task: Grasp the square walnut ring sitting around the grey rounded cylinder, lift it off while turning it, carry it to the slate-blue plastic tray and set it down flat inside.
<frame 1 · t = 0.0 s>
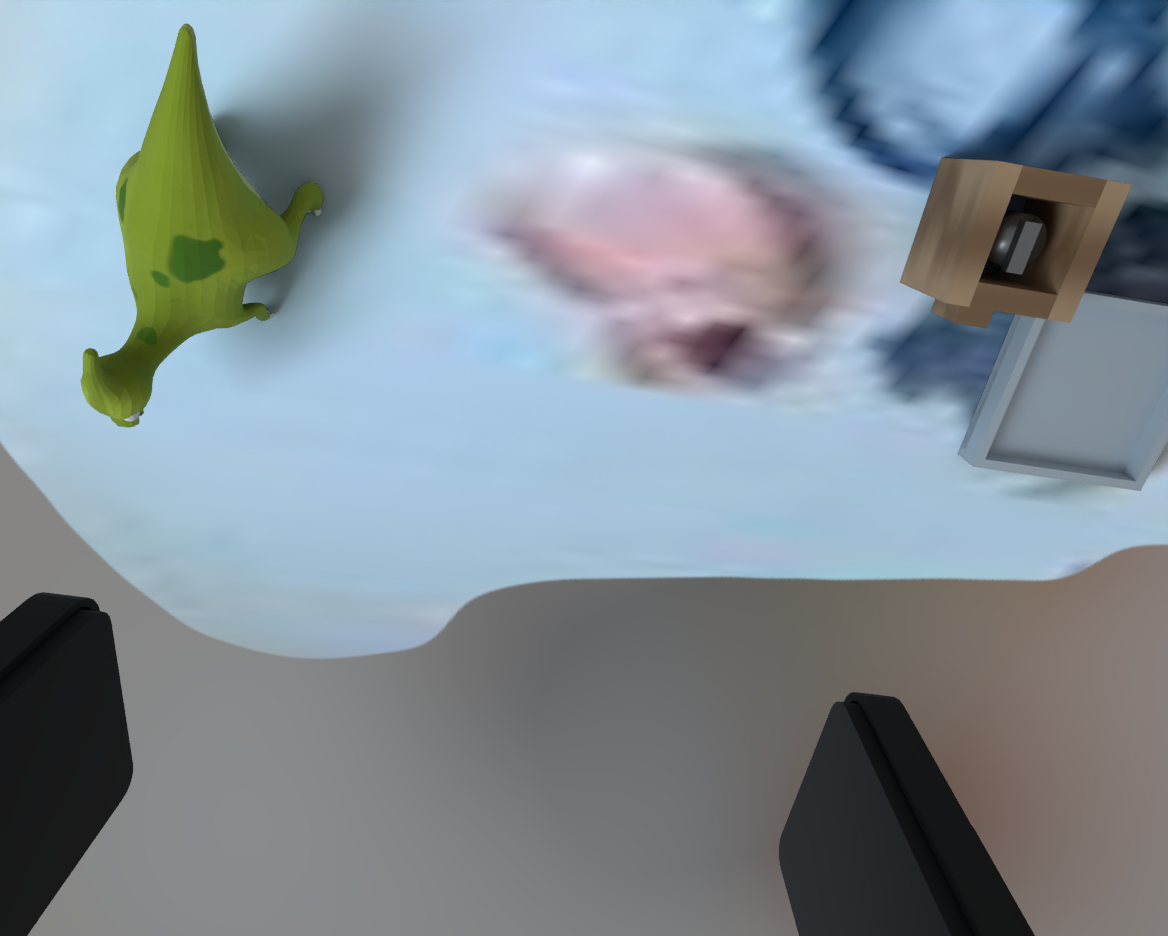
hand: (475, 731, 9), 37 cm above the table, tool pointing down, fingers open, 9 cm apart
grey rounded cylinder: (976, 232, 42), on the table
tray: (1077, 385, 46), on the table
toy: (240, 237, 42), on the table
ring: (976, 232, 42), on the table
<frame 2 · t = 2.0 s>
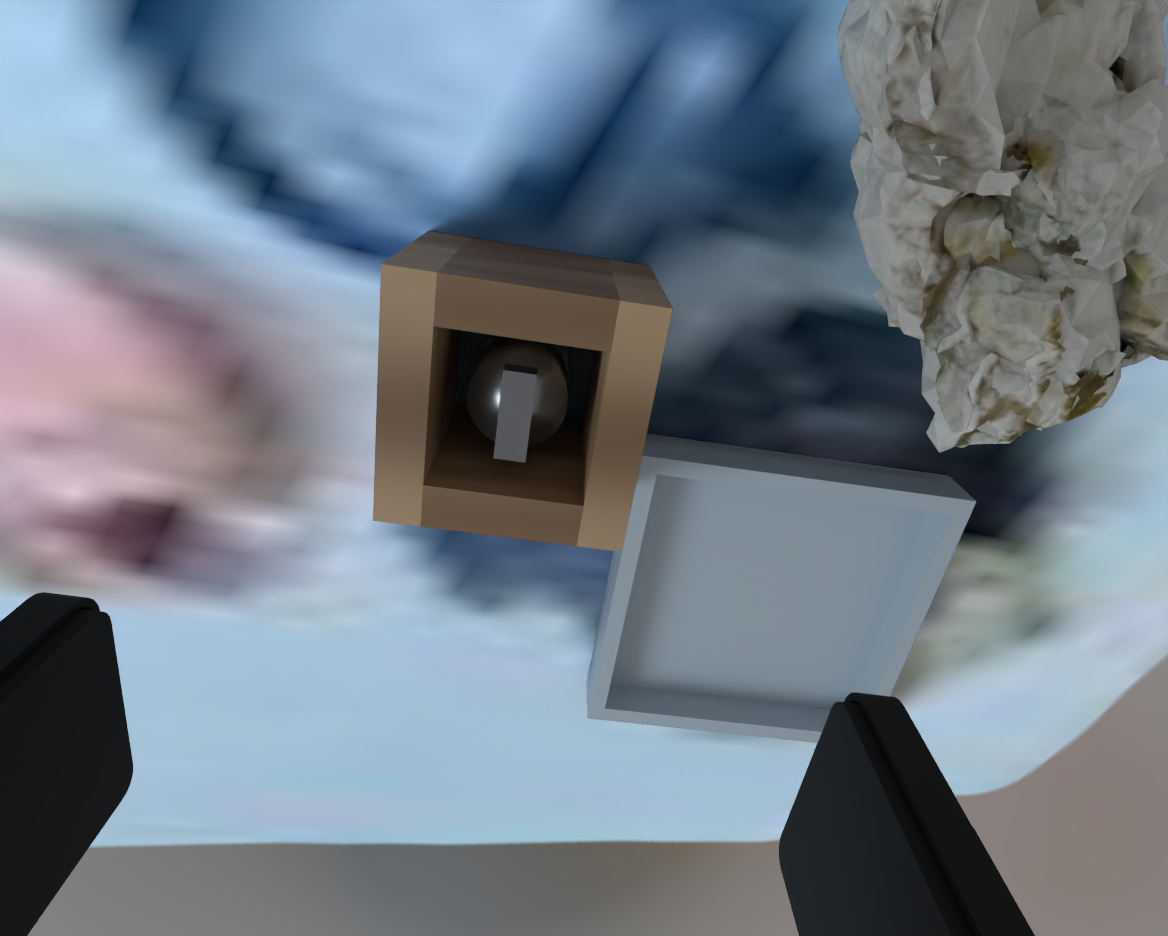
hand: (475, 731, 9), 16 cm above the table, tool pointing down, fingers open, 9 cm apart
grey rounded cylinder: (526, 355, 24), on the table
rock: (943, 64, 21), on the table
tray: (754, 586, 28), on the table
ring: (526, 355, 24), on the table
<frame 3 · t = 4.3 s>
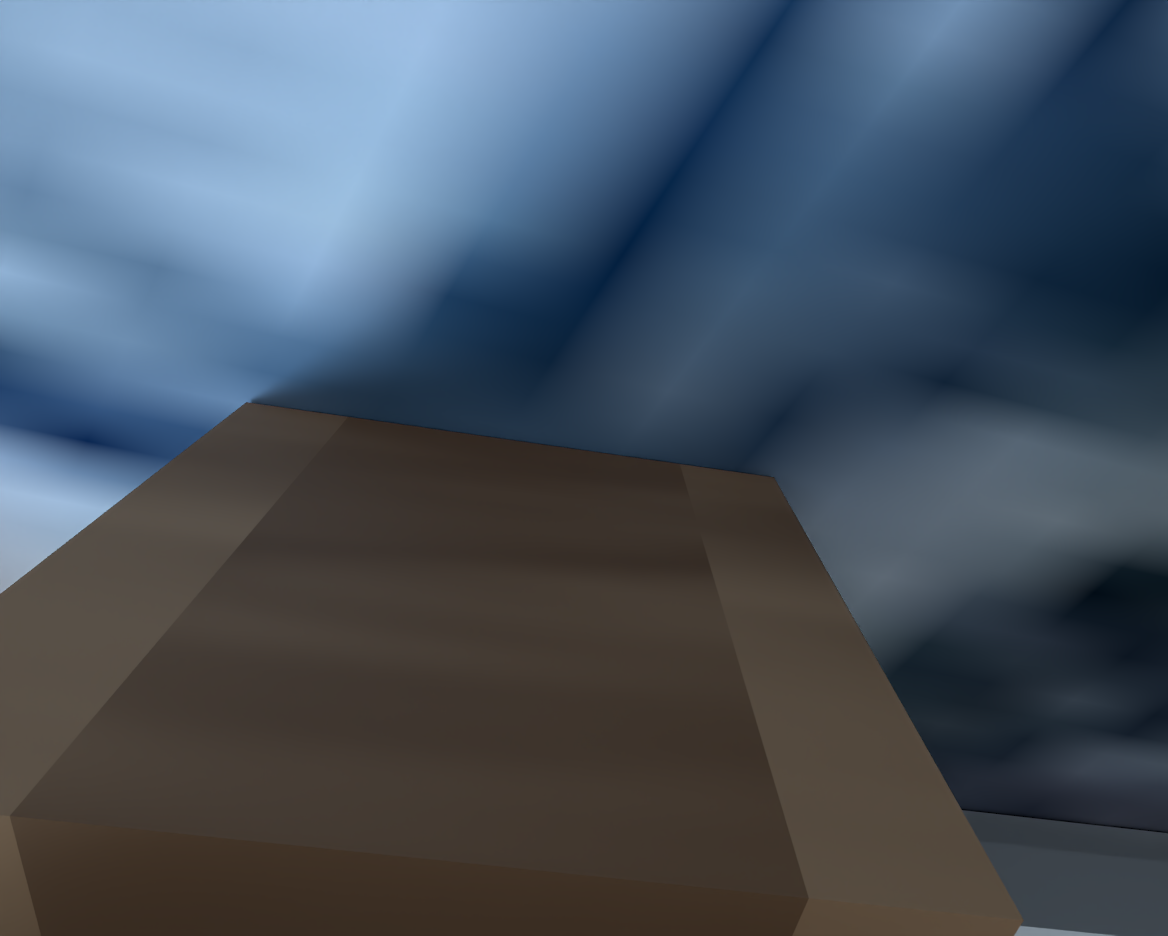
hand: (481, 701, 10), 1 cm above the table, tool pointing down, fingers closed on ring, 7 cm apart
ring: (490, 650, 11), on the table, touching gripper
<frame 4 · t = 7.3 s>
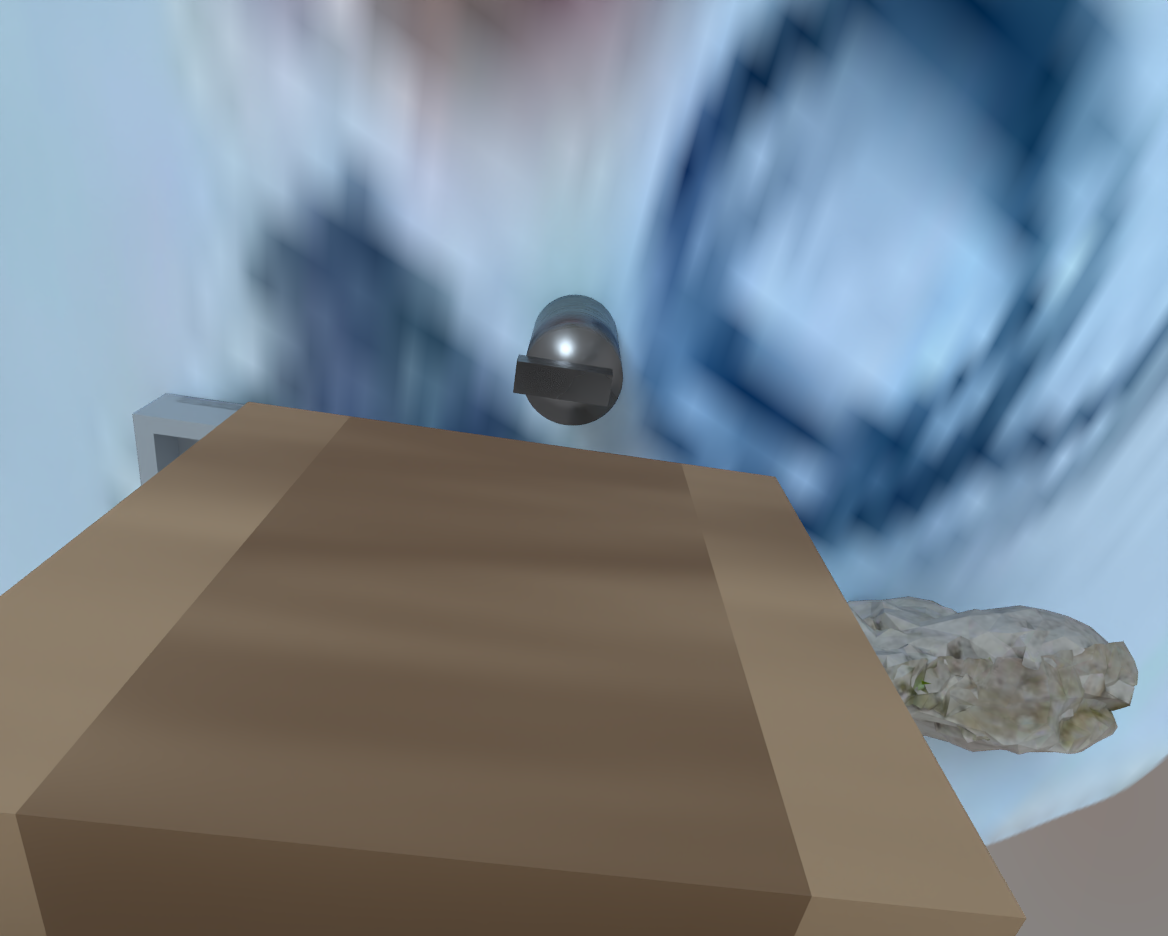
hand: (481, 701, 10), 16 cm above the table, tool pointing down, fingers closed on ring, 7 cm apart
grey rounded cylinder: (575, 336, 24), on the table
rock: (785, 637, 29), on the table
tray: (332, 555, 28), on the table
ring: (491, 649, 11), point 15 cm above the table, touching gripper
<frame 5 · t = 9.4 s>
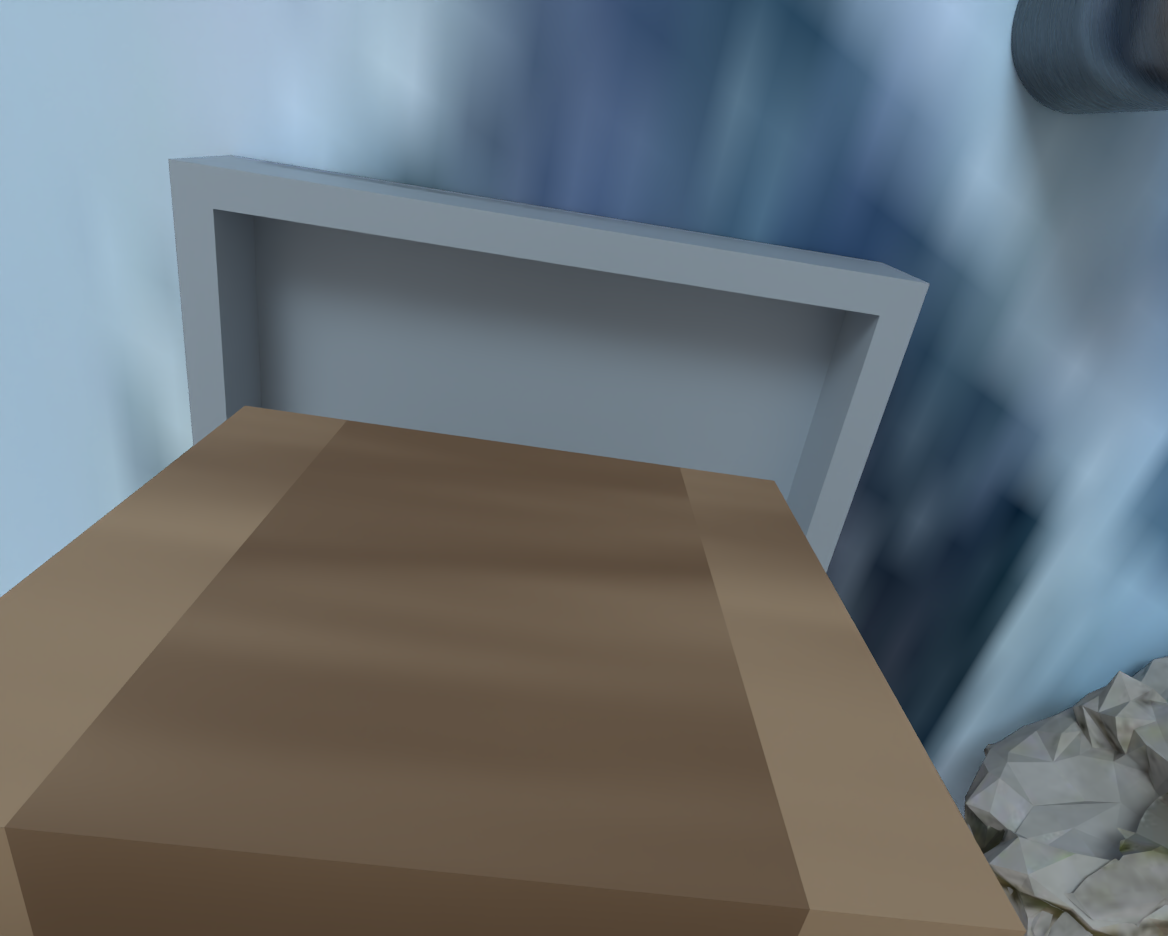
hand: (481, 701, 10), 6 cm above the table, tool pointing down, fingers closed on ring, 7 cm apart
grey rounded cylinder: (1103, 15, 11), on the table
tray: (526, 498, 15), on the table
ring: (489, 653, 11), point 5 cm above the table, touching gripper
when the fingers open (3 cm above the table, at t = 10.8 s): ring drops 2 cm, resting on tray.
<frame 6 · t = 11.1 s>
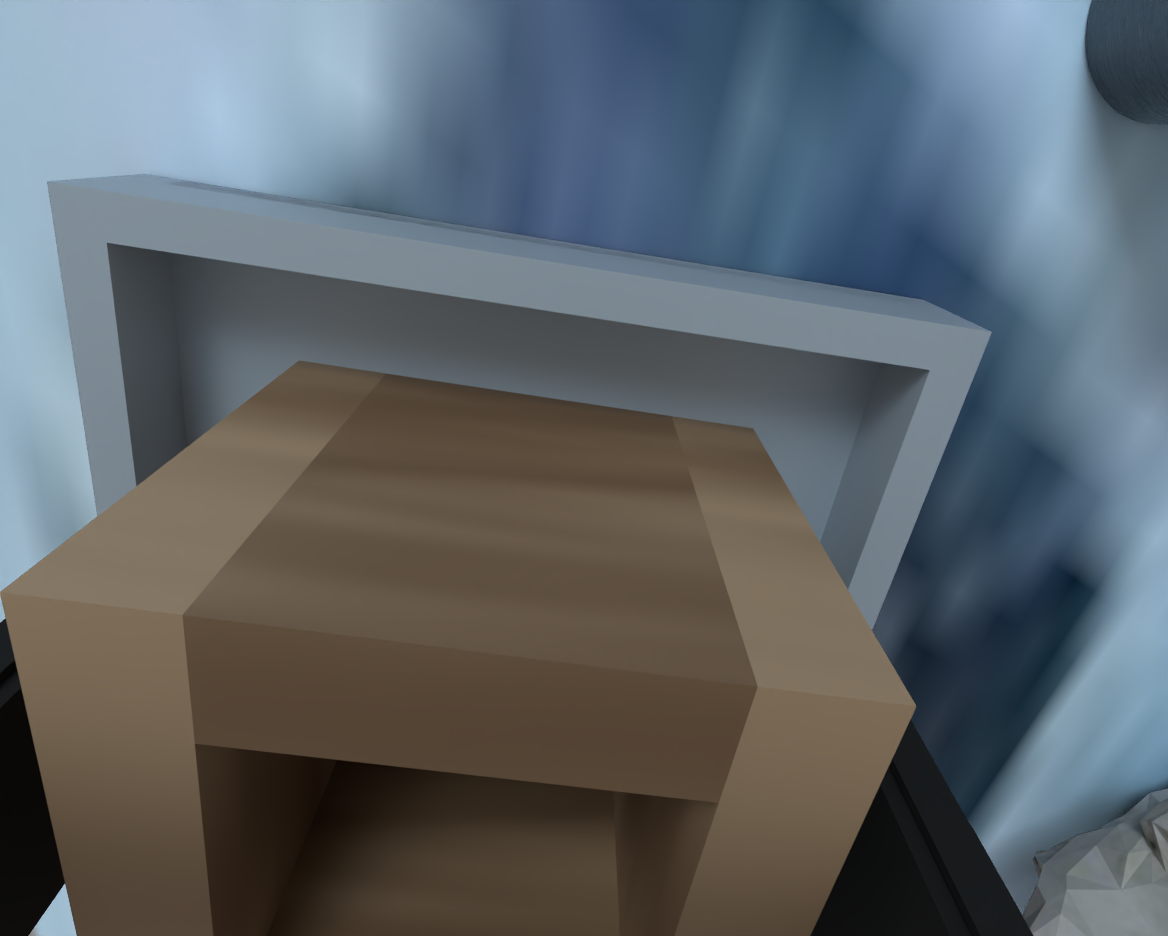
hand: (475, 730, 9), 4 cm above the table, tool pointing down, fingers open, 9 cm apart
tray: (505, 568, 13), on the table
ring: (505, 584, 12), point 1 cm above the table, touching tray
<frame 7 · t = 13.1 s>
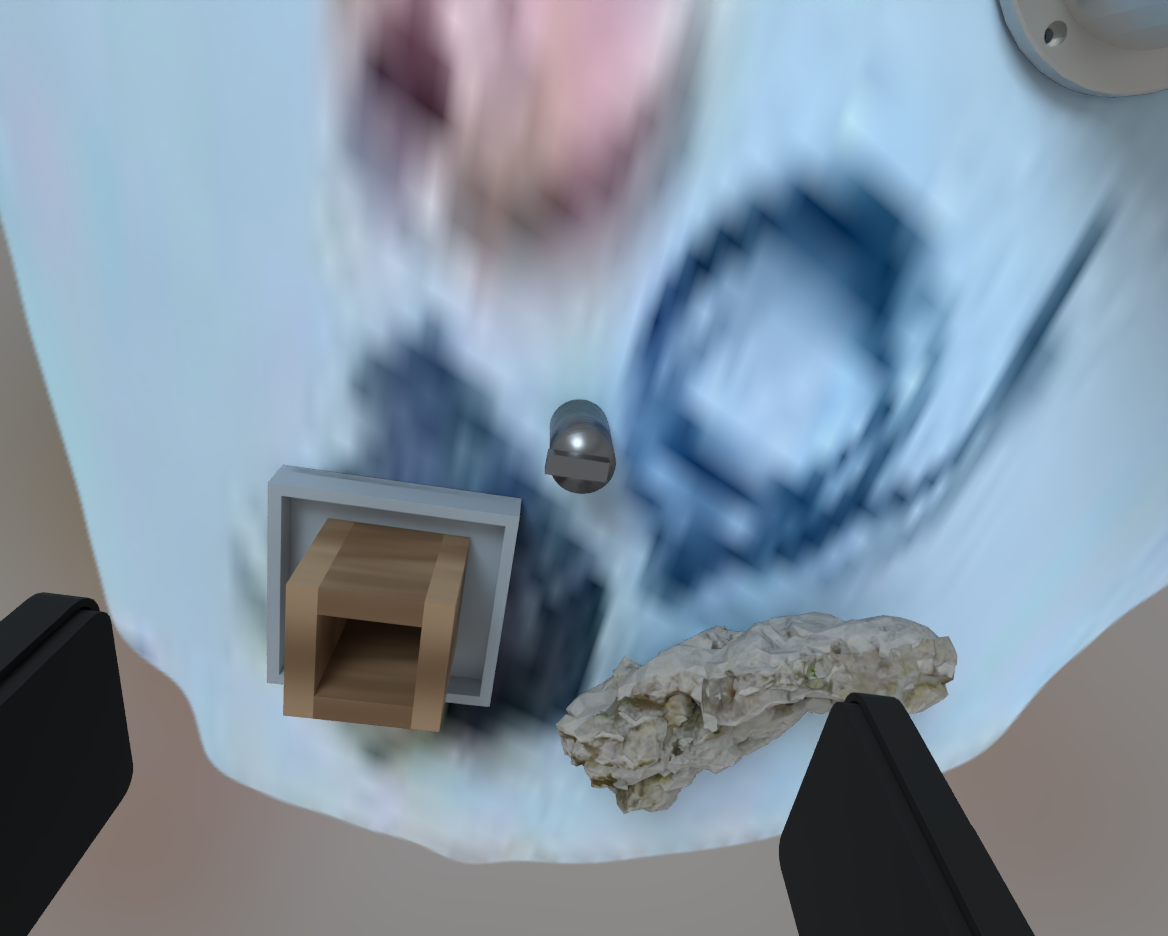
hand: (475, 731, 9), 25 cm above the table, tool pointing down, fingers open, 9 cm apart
grey rounded cylinder: (579, 427, 34), on the table
rock: (731, 646, 40), on the table
tray: (395, 581, 37), on the table
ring: (394, 587, 37), point 1 cm above the table, touching tray
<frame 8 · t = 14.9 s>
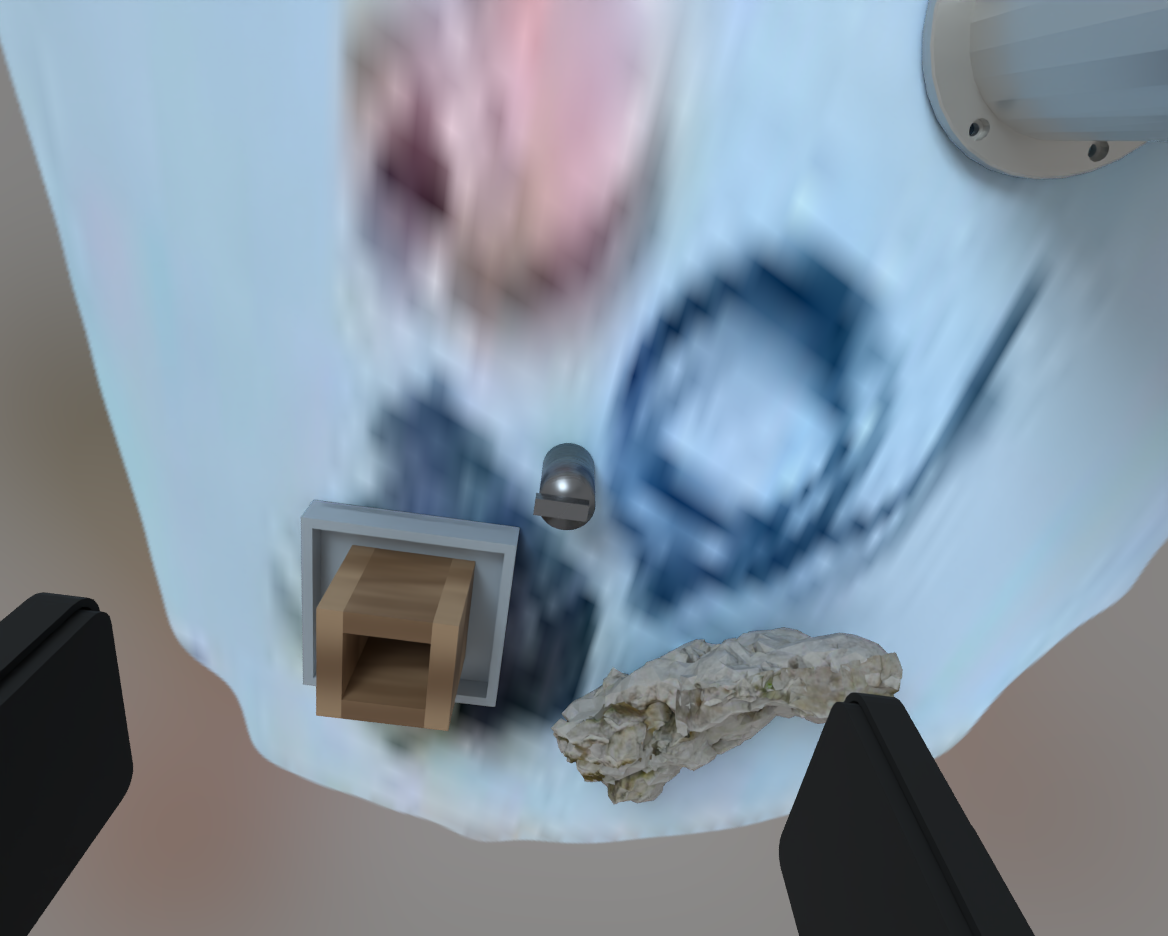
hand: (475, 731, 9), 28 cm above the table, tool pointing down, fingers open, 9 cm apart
grey rounded cylinder: (568, 466, 39), on the table
rock: (711, 656, 45), on the table
tray: (412, 598, 43), on the table
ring: (410, 603, 42), point 1 cm above the table, touching tray
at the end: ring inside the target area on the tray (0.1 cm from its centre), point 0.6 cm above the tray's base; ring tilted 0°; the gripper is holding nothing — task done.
